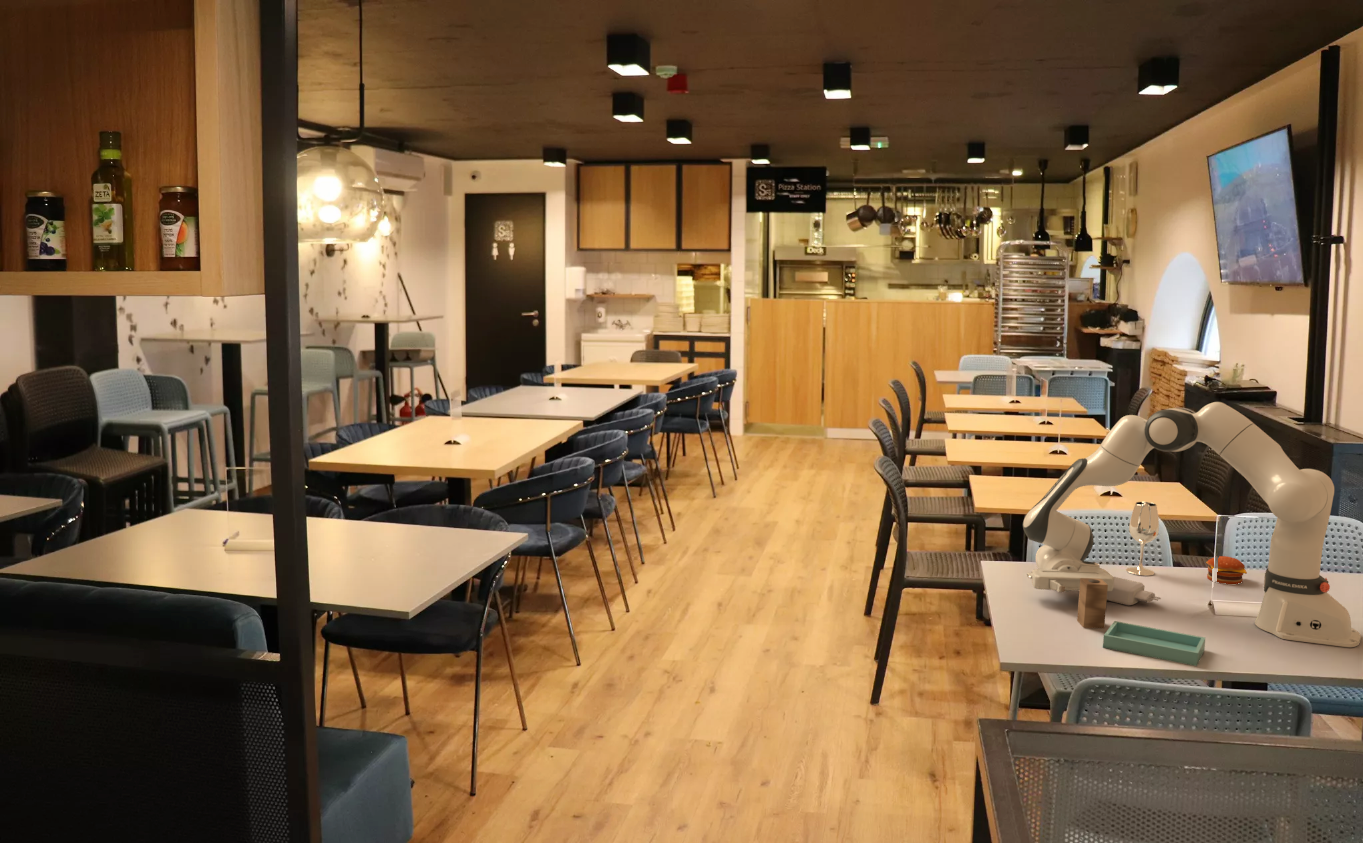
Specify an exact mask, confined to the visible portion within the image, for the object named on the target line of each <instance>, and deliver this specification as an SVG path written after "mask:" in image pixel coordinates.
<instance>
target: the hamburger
mask: <svg viewBox="0 0 1363 843" xmlns="http://www.w3.org/2000/svg"><path fill="white" fill-rule="evenodd" d="M1205 563H1206V564H1207V565H1208V566H1207V571H1208V572H1207V574H1206V578H1207V579H1208V580H1209V581H1211V582H1213V581H1212V569H1213V568H1214V557H1213V558H1212V557H1211V558H1210V559H1207V561H1206V562H1205ZM1244 574H1245V575H1246V574H1248V572H1247V570H1246V566H1245V564H1244V563H1243V562H1242V561H1240V560H1239V559H1237V558H1235V557H1232V556H1227V555H1226V556H1225V555H1222V556H1220V555H1219V558H1218V572H1217V582H1219V583H1218V584H1221V583H1226V584H1225V585H1228V584H1236V585H1239V584H1238V583H1241V582H1242V583H1243V580H1244V579H1243V576H1244ZM1242 583H1241V584H1242Z"/></svg>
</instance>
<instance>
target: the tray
mask: <svg viewBox="0 0 1363 843" xmlns="http://www.w3.org/2000/svg"><path fill="white" fill-rule="evenodd" d="M1205 645H1206V637H1203V636H1199V635H1192V634H1188V633H1184V632H1183V633H1181V632H1178V631H1172V630H1171V631H1170V630H1166V629H1161V628H1155V627H1150V626H1149V627H1148V626H1143V625H1139V624H1133V623H1129V622H1123V621H1118V620H1117V621H1116V620H1114V621H1113V622H1112V624H1111V625H1110V626H1109V627H1108V629H1107V630H1106V632H1105V633H1104V634H1103V641H1102V648H1103V649H1108V650H1113V651H1117V652H1118V651H1119V652H1123V653H1128V654H1133V655H1139V656H1142V657H1144V656H1145V657H1148V658H1153V659H1154V658H1155V659H1158V660H1164V661H1169V662H1175V663H1180V664H1185V665H1189V666H1194V667H1197V666H1198V665H1199V662H1200V660H1201V659H1202V657H1203V654H1204V652H1205V649H1206V648H1205V647H1206V646H1205Z"/></svg>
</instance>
